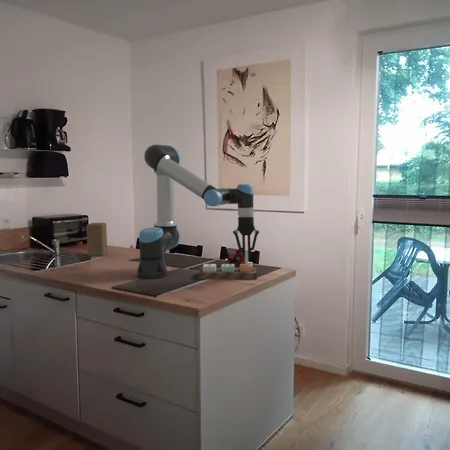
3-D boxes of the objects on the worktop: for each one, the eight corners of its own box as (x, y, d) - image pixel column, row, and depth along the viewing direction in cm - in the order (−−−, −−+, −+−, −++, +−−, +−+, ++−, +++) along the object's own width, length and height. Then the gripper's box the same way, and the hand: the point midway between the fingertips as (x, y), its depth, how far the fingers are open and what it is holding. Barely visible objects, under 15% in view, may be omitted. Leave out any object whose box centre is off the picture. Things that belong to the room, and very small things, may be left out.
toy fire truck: (239, 270, 233) (239, 250, 232) (223, 267, 242) (223, 248, 241) (248, 268, 237) (248, 249, 236) (232, 265, 247) (232, 246, 245)
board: (198, 279, 215) (197, 272, 215) (201, 273, 227) (200, 267, 227) (256, 279, 213) (256, 273, 213) (256, 273, 225) (256, 267, 225)
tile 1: (202, 273, 218) (202, 266, 217) (204, 270, 224) (204, 263, 223) (215, 273, 217) (215, 266, 217) (216, 270, 223) (216, 263, 223)
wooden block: (103, 256, 279) (102, 224, 276) (87, 256, 279) (85, 224, 276) (107, 253, 289) (106, 222, 286) (92, 253, 289) (90, 222, 286)
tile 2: (221, 273, 217) (221, 266, 217) (222, 270, 223) (222, 263, 223) (233, 273, 217) (233, 266, 216) (234, 270, 223) (234, 263, 222)
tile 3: (239, 273, 216) (239, 266, 216) (240, 270, 222) (240, 263, 222) (252, 273, 216) (252, 266, 216) (252, 270, 222) (252, 263, 222)
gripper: (231, 217, 213) (233, 266, 215) (259, 216, 212) (260, 265, 215) (232, 215, 220) (233, 263, 223) (259, 215, 219) (260, 262, 222)
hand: (246, 264), depth 219 cm, fingers closed
